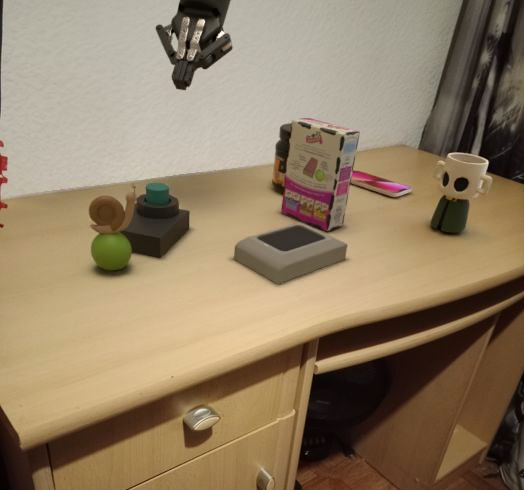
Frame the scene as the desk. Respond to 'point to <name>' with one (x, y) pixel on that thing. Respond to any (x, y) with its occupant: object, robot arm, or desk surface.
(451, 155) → the character mug
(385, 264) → the desk surface
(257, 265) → the grey bevelled block
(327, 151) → the candy bar box
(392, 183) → the smartphone
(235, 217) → the desk surface
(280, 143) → the supplement container
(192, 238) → the desk surface
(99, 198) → the snail figurine
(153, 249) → the black button base
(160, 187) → the push button
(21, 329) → the desk surface
